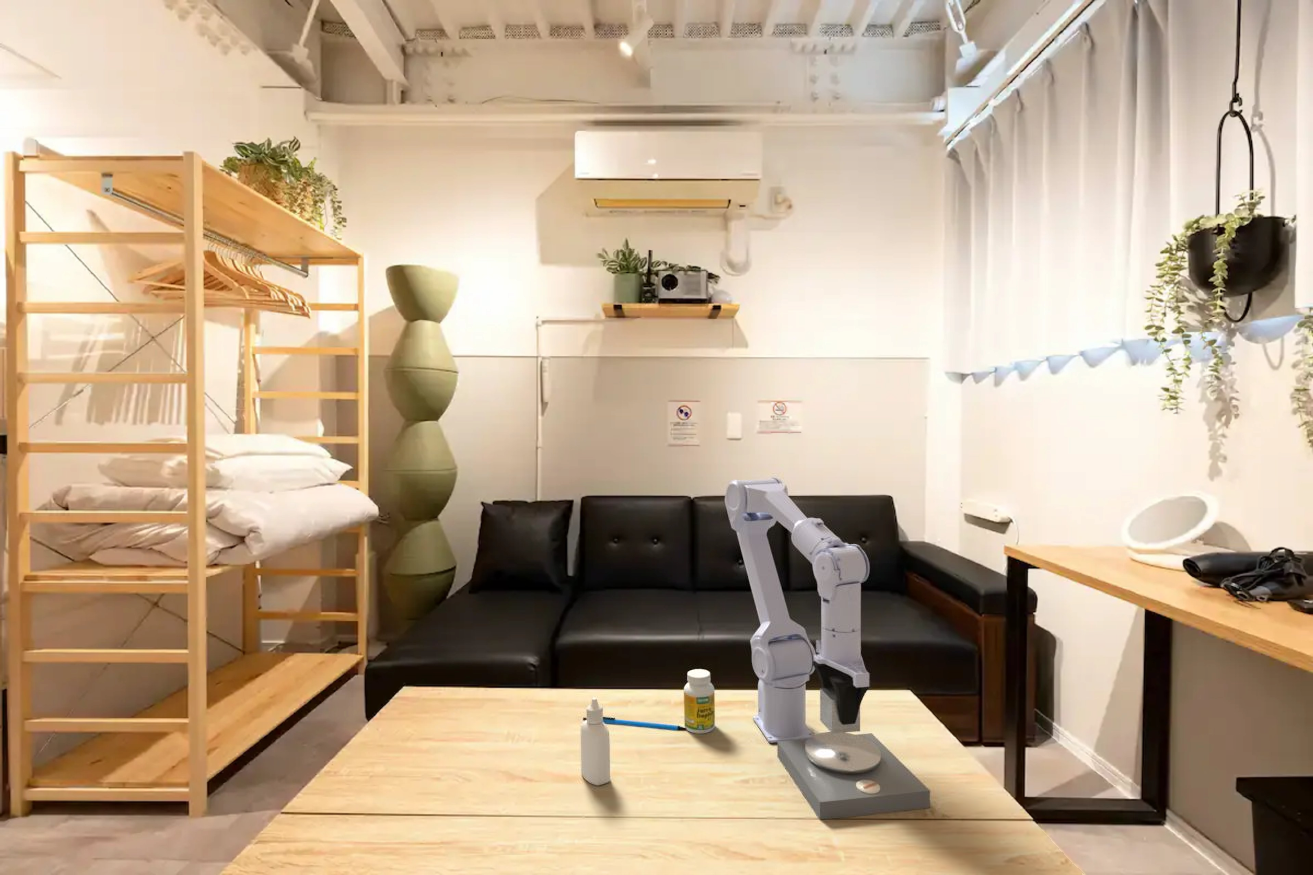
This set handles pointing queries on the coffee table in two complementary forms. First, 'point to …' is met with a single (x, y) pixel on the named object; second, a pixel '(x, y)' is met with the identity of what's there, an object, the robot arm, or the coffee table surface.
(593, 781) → the eye dropper bottle
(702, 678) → the supplement bottle
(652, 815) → the coffee table surface
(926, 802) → the scale base
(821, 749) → the pan
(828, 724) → the block
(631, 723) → the pen
